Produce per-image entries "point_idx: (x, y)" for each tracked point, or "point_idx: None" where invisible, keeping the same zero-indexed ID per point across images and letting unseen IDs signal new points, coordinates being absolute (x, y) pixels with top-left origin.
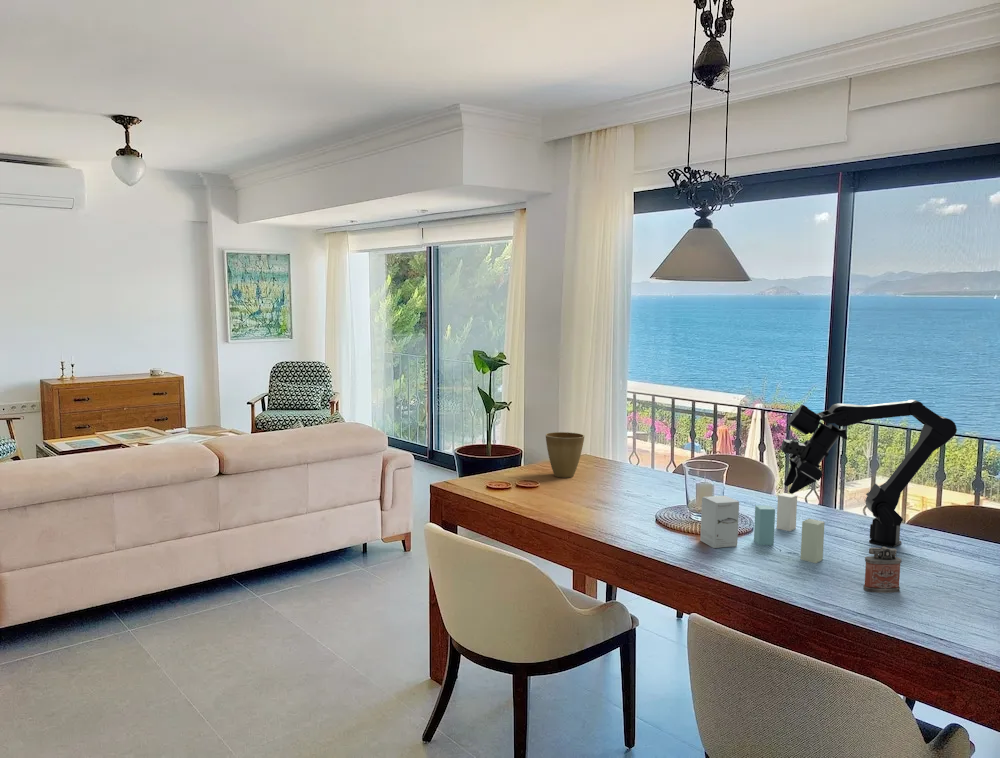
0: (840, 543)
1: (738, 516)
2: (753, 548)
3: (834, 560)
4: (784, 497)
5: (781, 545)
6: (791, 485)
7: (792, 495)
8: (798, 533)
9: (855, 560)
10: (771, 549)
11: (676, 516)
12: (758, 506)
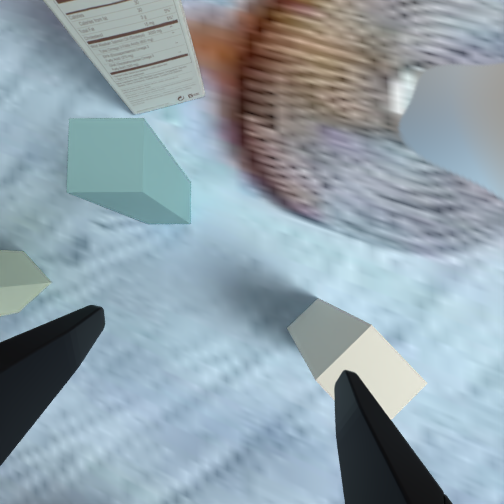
0: (164, 436)
1: (68, 32)
2: None
3: None
4: (340, 349)
5: (146, 246)
6: (49, 339)
7: None
8: (264, 347)
9: None
10: None
11: (436, 26)
12: (123, 127)
